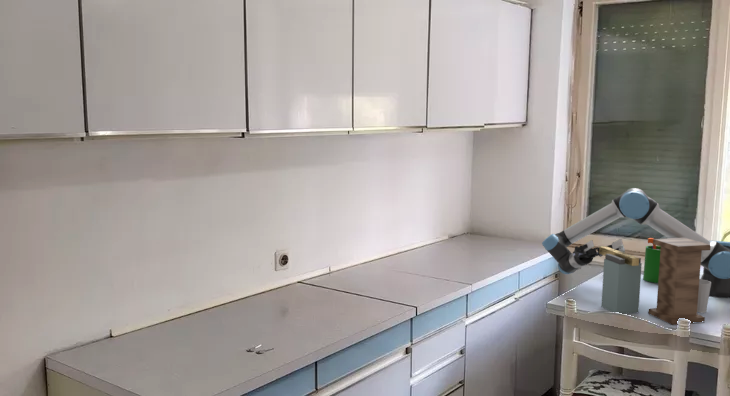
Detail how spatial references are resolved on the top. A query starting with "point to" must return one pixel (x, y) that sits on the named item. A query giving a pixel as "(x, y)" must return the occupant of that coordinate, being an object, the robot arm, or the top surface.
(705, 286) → the cup
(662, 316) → the walnut stand
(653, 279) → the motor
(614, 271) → the block
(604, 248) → the brass bar
